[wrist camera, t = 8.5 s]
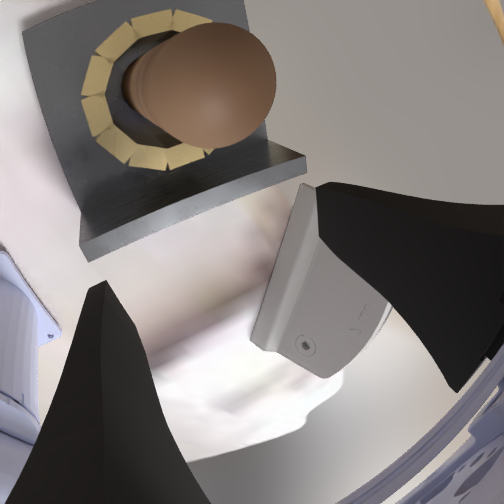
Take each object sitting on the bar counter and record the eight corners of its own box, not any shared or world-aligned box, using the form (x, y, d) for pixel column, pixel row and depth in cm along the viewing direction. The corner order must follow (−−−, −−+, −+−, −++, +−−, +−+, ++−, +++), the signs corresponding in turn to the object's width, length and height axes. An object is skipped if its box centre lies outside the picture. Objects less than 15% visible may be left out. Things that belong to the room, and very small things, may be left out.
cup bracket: (88, 218, 16) (88, 262, 13) (26, 35, 9) (0, 18, 5) (262, 150, 20) (307, 172, 16) (231, -21, 12) (275, -45, 9)
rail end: (135, 126, 14) (179, 170, 8) (111, 69, 12) (129, 49, 5) (194, 98, 15) (288, 121, 8) (174, 43, 13) (258, 10, 6)
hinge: (301, 179, 22) (424, 238, 17) (329, 179, 26) (432, 229, 21) (248, 343, 30) (328, 404, 24) (277, 326, 33) (351, 378, 28)
